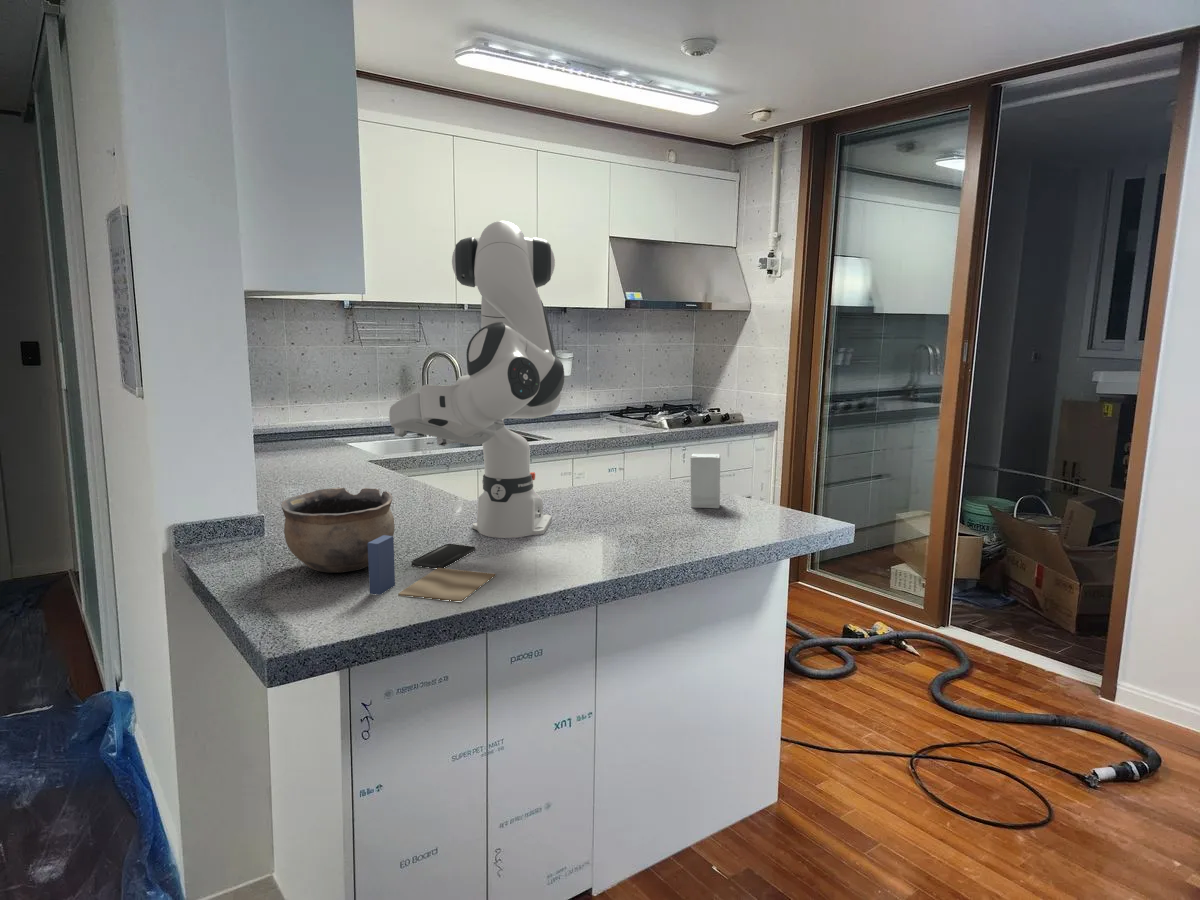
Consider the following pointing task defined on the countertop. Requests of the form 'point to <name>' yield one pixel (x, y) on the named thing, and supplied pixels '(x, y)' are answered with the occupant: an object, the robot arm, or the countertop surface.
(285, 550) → the countertop surface
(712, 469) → the skincare box
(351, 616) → the countertop surface
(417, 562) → the phone
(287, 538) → the ceramic bowl
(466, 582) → the mat
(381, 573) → the box
